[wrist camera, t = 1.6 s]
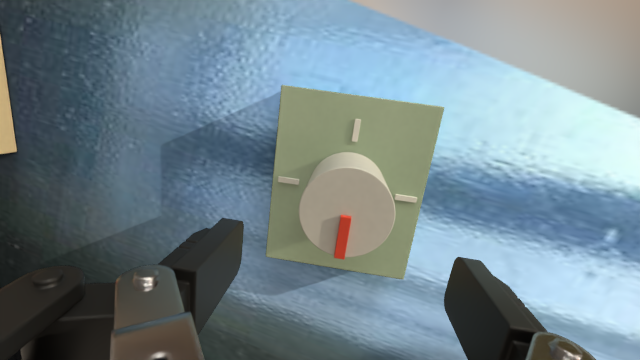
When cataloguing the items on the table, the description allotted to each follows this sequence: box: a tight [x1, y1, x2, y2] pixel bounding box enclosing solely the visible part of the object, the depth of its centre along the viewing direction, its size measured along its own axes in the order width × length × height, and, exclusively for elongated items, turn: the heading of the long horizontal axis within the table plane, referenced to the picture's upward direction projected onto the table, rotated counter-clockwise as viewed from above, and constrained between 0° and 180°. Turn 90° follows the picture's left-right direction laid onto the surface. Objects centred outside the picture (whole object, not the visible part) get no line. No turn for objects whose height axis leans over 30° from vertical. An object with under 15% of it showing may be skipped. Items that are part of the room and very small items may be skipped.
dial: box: [299, 152, 395, 260], centre depth 18 cm, size 5×5×5 cm
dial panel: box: [266, 85, 444, 279], centre depth 21 cm, size 12×10×3 cm
